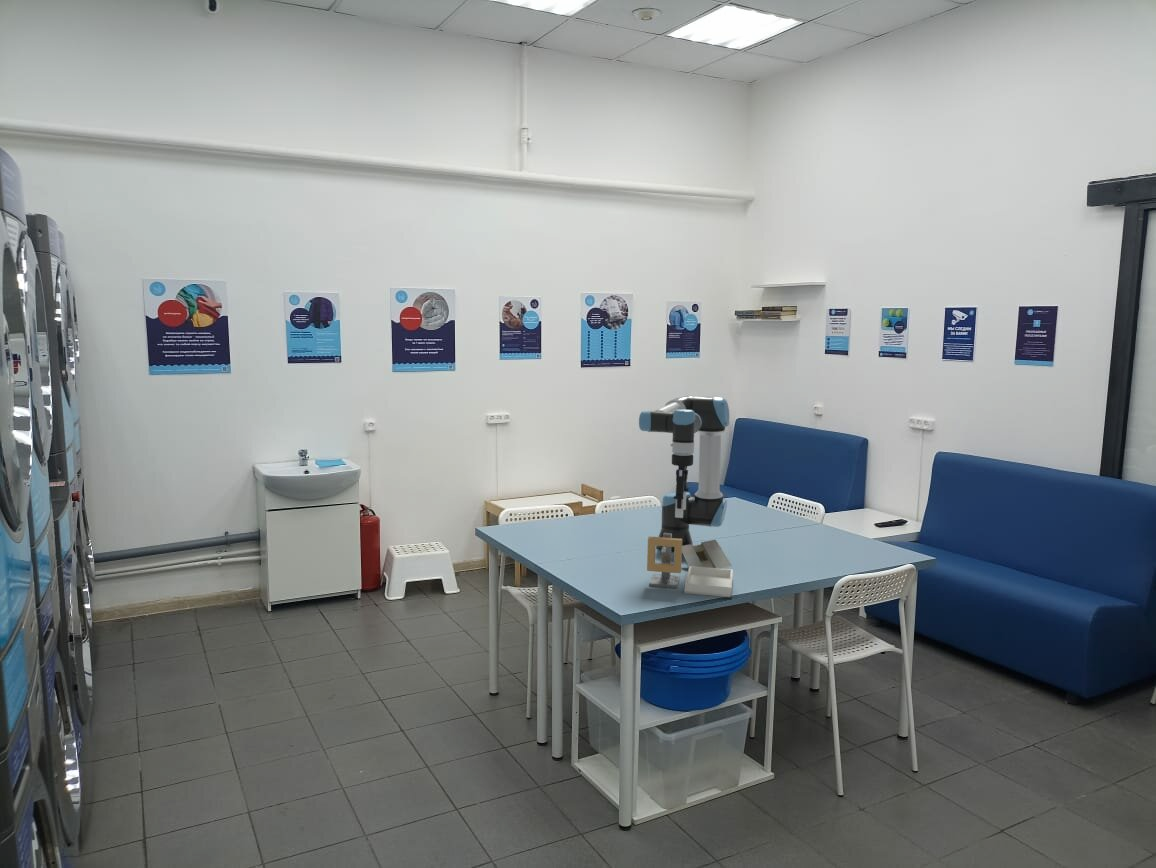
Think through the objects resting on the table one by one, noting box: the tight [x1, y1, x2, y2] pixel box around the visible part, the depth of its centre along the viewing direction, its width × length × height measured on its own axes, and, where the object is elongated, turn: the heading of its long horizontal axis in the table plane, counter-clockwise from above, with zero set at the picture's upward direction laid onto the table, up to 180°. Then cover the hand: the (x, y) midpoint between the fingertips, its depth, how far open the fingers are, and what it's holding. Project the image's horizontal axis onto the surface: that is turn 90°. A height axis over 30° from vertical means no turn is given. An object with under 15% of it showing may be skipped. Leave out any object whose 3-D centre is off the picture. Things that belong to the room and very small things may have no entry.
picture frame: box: [646, 535, 683, 574], centre depth 290 cm, size 2×12×12 cm, turn 78°
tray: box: [684, 565, 734, 598], centre depth 291 cm, size 22×16×4 cm
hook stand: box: [648, 533, 681, 589], centre depth 292 cm, size 16×10×17 cm, turn 168°
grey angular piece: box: [682, 539, 732, 569], centre depth 316 cm, size 16×9×15 cm
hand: (680, 513), depth 287 cm, fingers open, 13 cm apart
